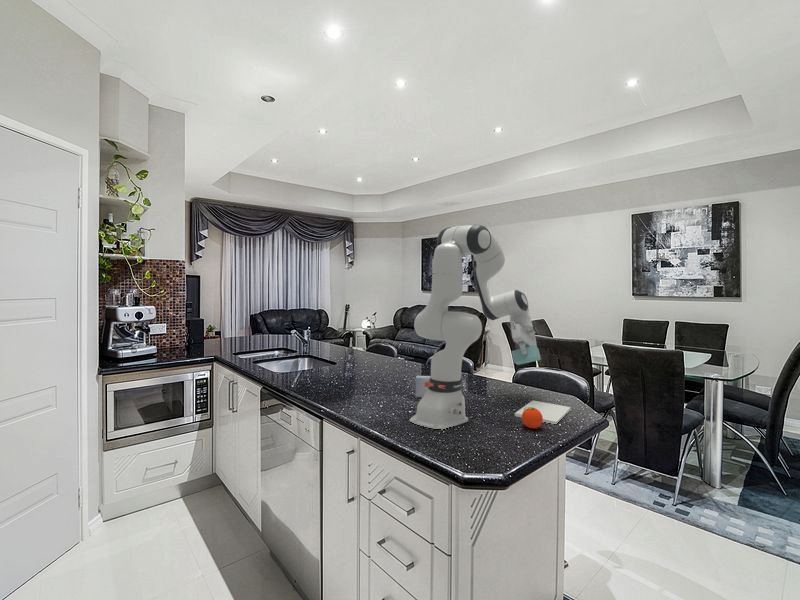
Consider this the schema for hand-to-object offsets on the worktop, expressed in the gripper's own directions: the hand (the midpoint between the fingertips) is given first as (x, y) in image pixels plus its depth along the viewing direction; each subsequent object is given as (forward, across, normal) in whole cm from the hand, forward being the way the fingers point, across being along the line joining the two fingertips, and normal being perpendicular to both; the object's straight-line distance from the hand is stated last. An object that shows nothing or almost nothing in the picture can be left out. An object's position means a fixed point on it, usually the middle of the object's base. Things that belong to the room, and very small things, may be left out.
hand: (527, 356), depth 164 cm
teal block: (-1, 0, +6) cm, 6 cm away
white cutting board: (+24, 0, -2) cm, 24 cm away
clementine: (+31, -18, -1) cm, 36 cm away
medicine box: (+11, -13, +44) cm, 47 cm away
